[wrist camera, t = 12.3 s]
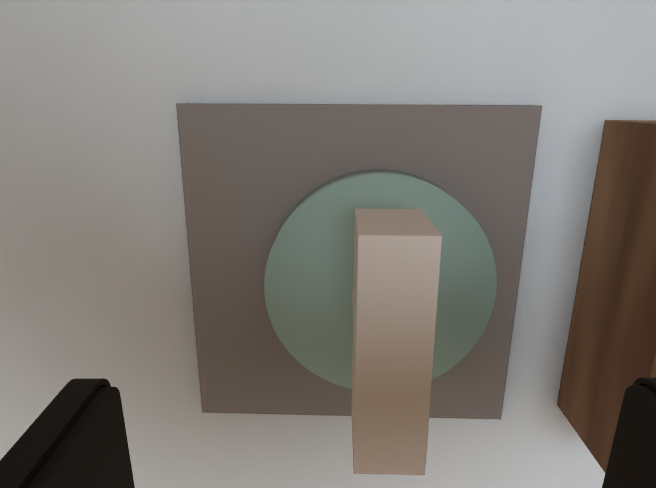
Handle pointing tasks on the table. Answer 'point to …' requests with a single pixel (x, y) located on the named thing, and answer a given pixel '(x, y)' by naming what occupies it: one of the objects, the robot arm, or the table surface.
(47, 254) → the table surface
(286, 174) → the mat
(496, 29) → the table surface
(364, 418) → the cover
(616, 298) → the tray
